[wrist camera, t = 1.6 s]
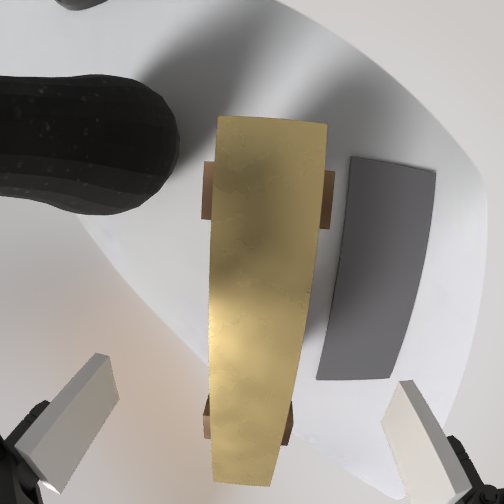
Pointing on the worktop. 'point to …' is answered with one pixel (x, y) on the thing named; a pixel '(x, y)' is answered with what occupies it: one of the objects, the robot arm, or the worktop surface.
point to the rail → (259, 284)
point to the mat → (377, 268)
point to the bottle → (84, 142)
